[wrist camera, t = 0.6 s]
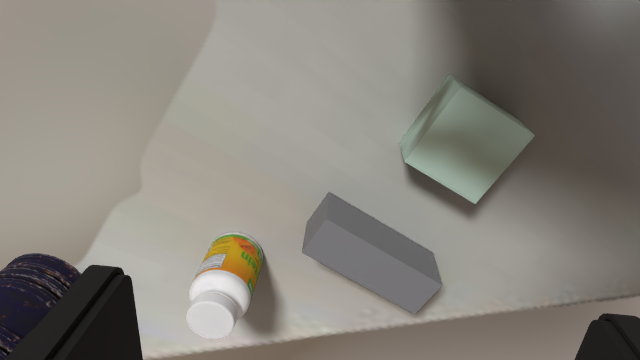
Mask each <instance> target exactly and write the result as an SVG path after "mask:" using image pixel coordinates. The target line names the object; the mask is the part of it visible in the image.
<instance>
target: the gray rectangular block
mask: <svg viewBox="0 0 640 360" xmlns="http://www.w3.org/2000/svg"><path fill="white" fill-rule="evenodd" d="M302 253H304V254H306V255H307V256H309V257H311V258H313V259H315V260H317V261H318V262H320V263H322V264H324V265H326V266H327V267H329V268H331V269H333V270H335V271H337V272H338V273H340V274H342V275H344V276H346V277H347V278H349V279H351V280H353V281H355V282H357V283H358V284H360V285H362V286H364V287H366V288H367V289H369V290H371V291H373V292H375V293H377V294H378V295H380V296H382V297H384V298H386V299H387V300H389V301H391V302H393V303H395V304H397V305H398V306H400V307H402V308H404V309H406V310H407V311H409V312H411V313H413V314H416V312H417V311H418V310H419V309H420V308H421V307H422V306H423V305H424V304H425V303H426V302H427V301H428V300H429V299H430V298H431V297H432V296H433V295H434V294H435V292H436V291H437V290H438V289H439V288H440V287H441V286H442V282H441V279H440V275H439V272H438V268H437V265H436V261H435V258H434V254H433V252H431V251H429V250H428V249H426V248H424V247H423V246H421V245H419V244H417V243H416V242H414V241H412V240H411V239H409V238H407V237H405V236H404V235H402V234H400V233H399V232H397V231H395V230H393V229H392V228H390V227H388V226H387V225H385V224H383V223H381V222H380V221H378V220H376V219H375V218H373V217H371V216H370V215H368V214H366V213H364V212H363V211H361V210H359V209H358V208H356V207H354V206H352V205H351V204H349V203H347V202H346V201H344V200H342V199H340V198H339V197H337V196H335V195H334V194H332V193H330V192H329V193H328V194H327V195H326V197H325V198H324V200H323V201H322V202H321V204H320V205H319V207H318V208H317V209H316V211H315V212H314V214H313V215H312V216H311V218H310V219H309V220H308V222H307V225H306V231H305V237H304V242H303V248H302Z"/></svg>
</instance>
